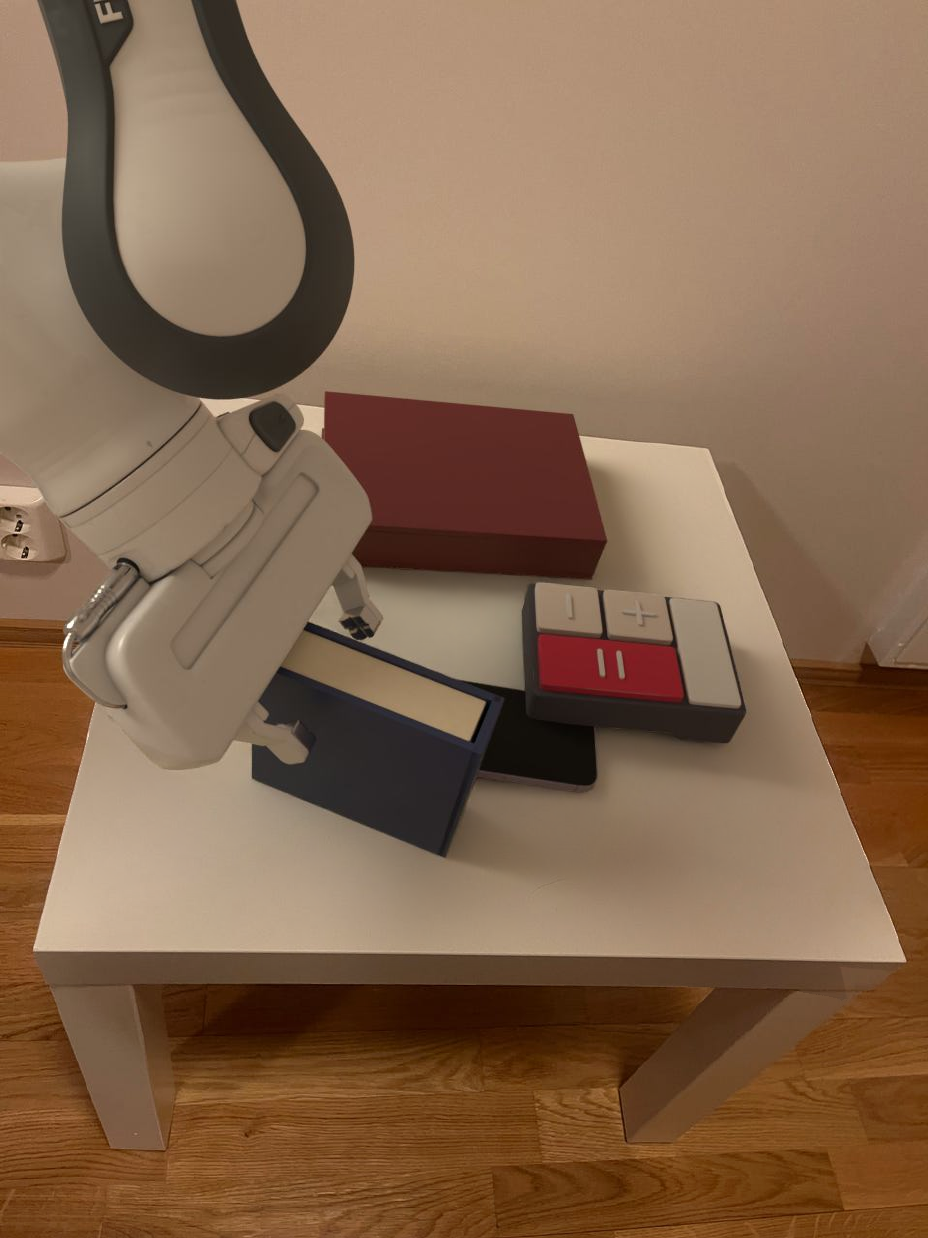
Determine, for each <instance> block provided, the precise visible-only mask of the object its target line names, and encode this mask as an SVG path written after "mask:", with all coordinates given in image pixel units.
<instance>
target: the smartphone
mask: <svg viewBox="0 0 928 1238" xmlns="http://www.w3.org/2000/svg"><path fill="white" fill-rule="evenodd" d="M456 679H457V678H456ZM457 680H459V681H462V682H464V683H467V684H470V685H472V686H475V687H477V688H480V689H482V690H485V691H487V692H490V693H493V694H495V695H498V696H500V697H503V698H504V702H503V705H502V708H501V711H500V713H499V716H498V719H497V722H496V725H495V727H494V730H493V733H492V736H491V738H490V741H489V744H488V747H487V750H486V752H485V755H484V758H483V761H482V763H481V766H480V769H479V772H478V775H477V777H476V778H483V779H490V780H495V781H496V780H497V781H504V782H510V783H517V784H523V785H529V786H537V787H543V788H549V789H550V788H551V789H556V790H563V791H569V792H576V793H587V792H589V791H591V790H592V789H593V788H594V786H595V785H596V783H597V782H598V778H599V769H598V752H597V751H598V750H597V738H596V737H597V736H596V735H597V734H596V727H595V726H584V725H573V724H565V723H558V722H551V721H544V720H537V719H532V718H530V717H528V716H527V714H526V695H525V690H524V689H518V688H512V687H507V686H506V687H505V686H500V685H494V684H487V683H483V682H476V681H470V680H463V679H457Z"/></svg>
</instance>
